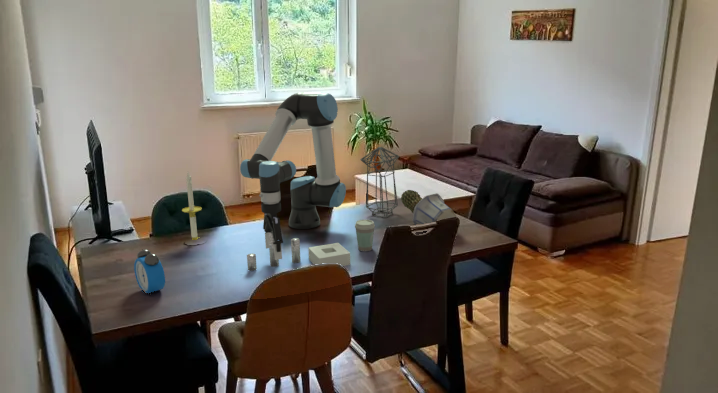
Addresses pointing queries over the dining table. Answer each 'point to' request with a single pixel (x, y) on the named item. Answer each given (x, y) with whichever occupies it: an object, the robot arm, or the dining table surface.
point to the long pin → (272, 251)
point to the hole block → (329, 254)
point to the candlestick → (191, 208)
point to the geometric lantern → (381, 179)
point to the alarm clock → (149, 271)
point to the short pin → (251, 262)
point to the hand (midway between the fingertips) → (273, 253)
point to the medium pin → (295, 250)
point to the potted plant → (426, 207)
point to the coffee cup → (365, 234)
